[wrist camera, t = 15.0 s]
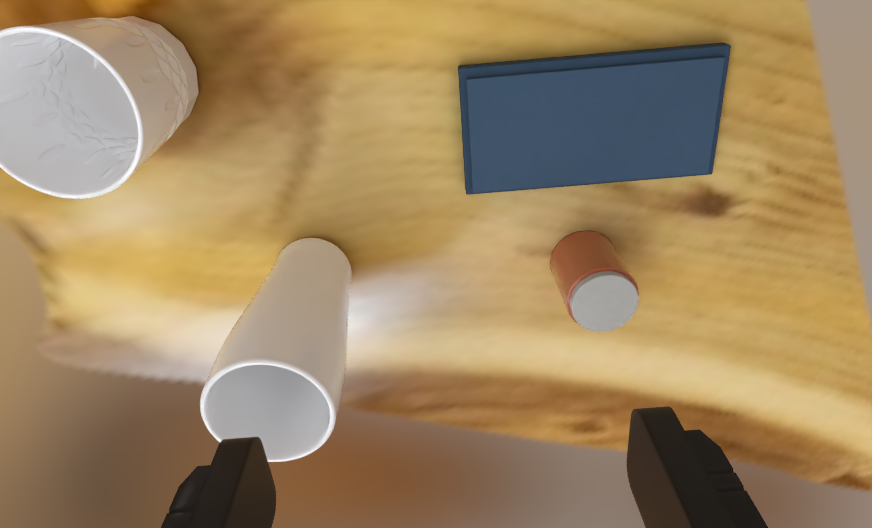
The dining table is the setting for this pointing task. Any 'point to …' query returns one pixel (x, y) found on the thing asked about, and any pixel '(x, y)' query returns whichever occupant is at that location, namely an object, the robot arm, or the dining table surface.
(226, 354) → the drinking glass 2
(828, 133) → the dining table surface
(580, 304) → the pill bottle
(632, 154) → the blue flat rectangular block
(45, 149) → the white cup
